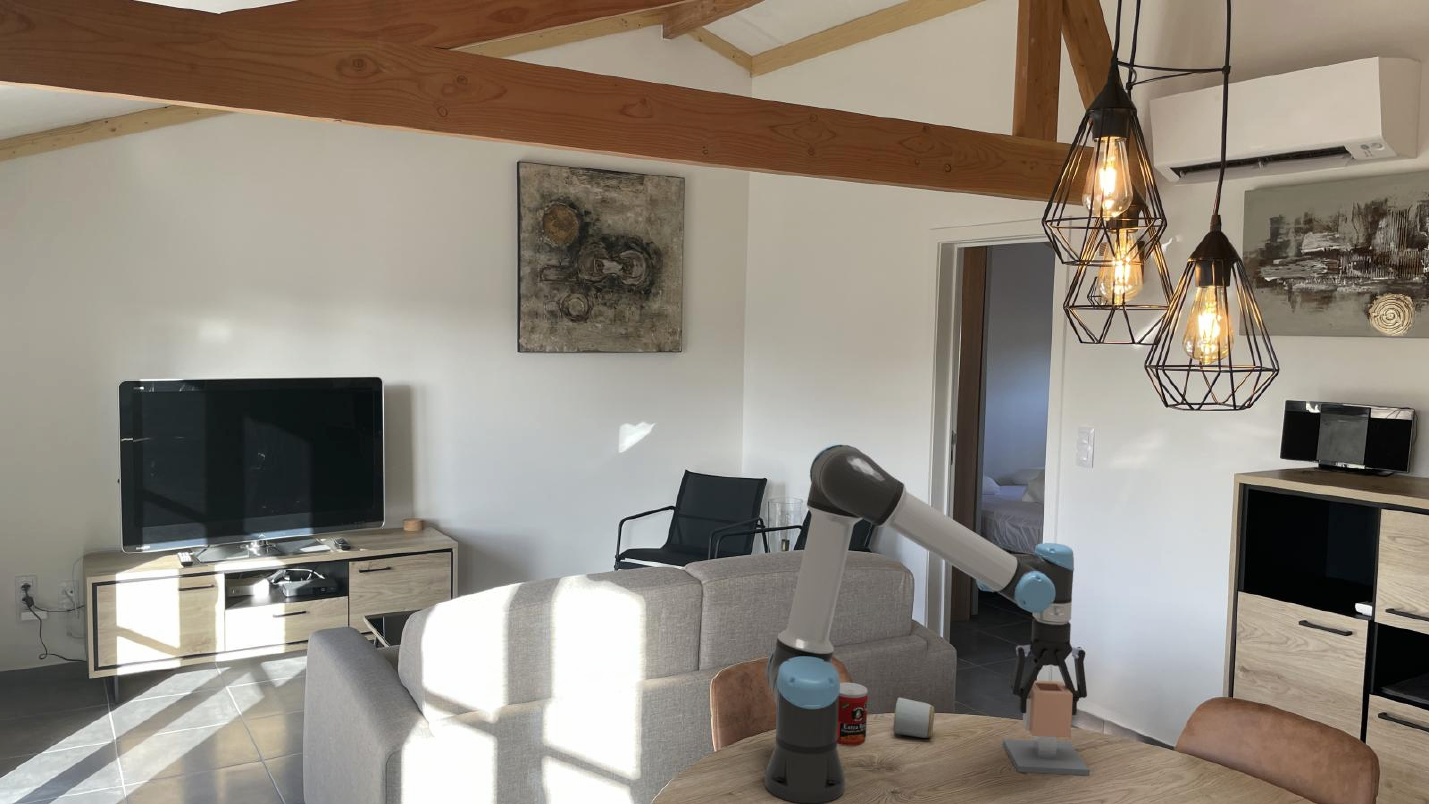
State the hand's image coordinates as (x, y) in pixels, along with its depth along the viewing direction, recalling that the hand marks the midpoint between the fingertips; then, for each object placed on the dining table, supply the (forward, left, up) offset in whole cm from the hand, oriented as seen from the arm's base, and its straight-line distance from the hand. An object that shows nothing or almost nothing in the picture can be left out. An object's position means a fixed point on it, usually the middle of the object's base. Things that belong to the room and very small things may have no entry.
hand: (1046, 728), depth 213 cm
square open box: (0, 0, 0) cm, 0 cm away
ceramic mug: (-26, +11, -7) cm, 29 cm away
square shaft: (0, 0, -5) cm, 5 cm away
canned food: (-40, +6, -7) cm, 41 cm away
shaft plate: (0, 0, -7) cm, 7 cm away
